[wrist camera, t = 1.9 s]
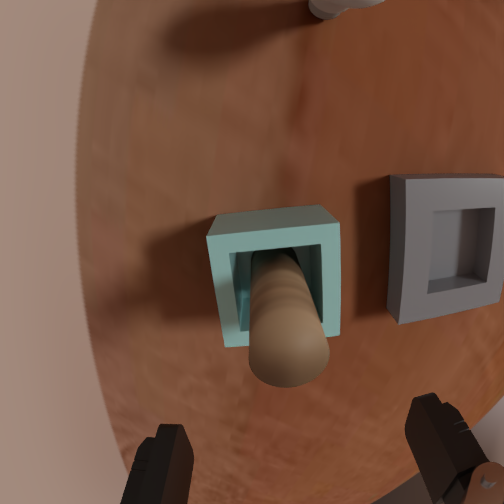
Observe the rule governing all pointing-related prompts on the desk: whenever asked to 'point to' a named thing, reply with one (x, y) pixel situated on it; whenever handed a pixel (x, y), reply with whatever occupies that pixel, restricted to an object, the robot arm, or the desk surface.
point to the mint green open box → (270, 237)
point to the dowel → (283, 322)
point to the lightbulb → (337, 6)
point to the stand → (444, 244)
